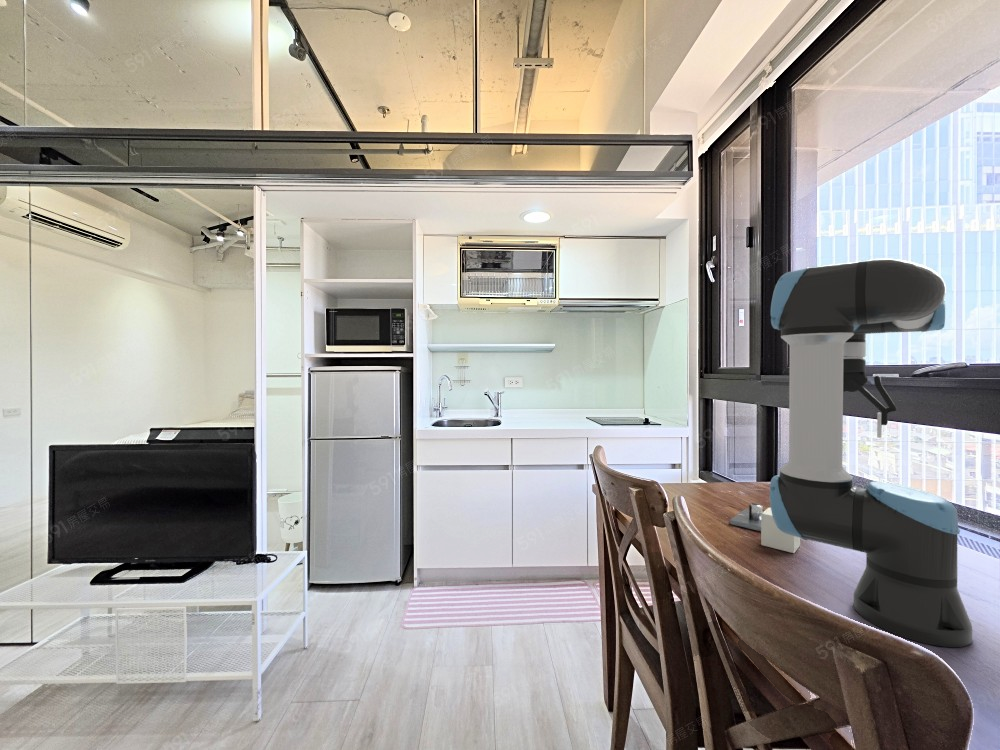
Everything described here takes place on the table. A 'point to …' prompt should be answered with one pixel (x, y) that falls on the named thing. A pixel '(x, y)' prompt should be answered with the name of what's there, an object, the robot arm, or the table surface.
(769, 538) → the block
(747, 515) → the hub plate
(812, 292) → the robot arm
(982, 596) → the table surface
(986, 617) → the table surface
